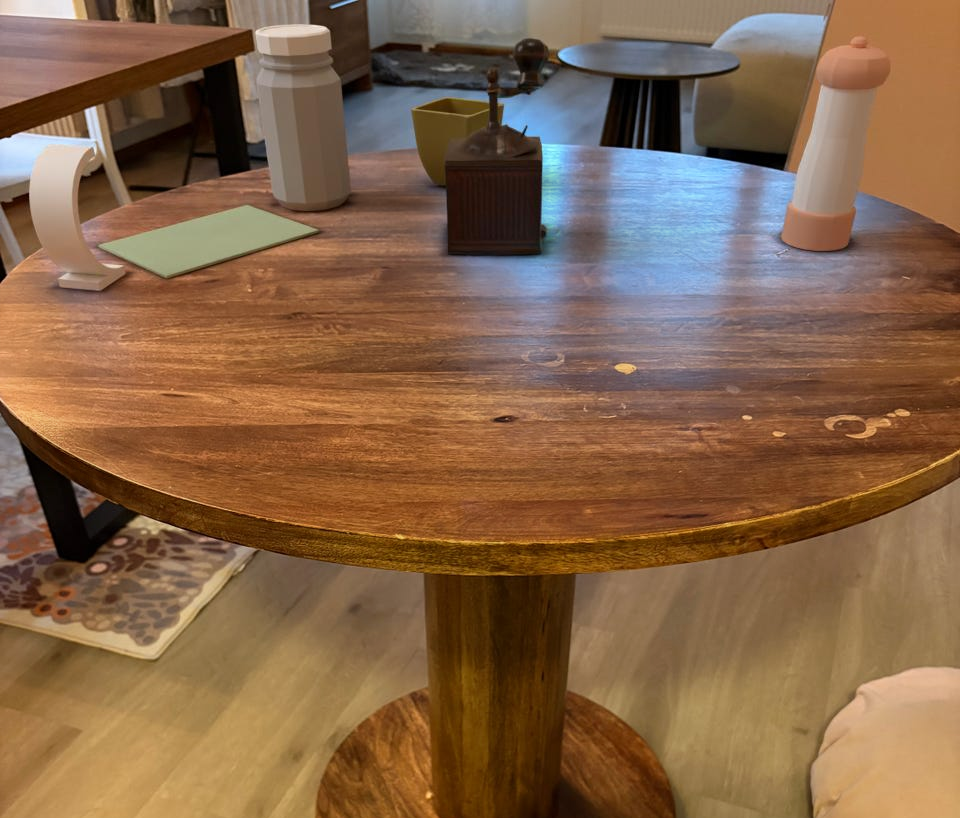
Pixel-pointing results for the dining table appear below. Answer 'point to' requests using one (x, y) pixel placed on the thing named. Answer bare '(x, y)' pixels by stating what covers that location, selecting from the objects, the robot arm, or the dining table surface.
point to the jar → (302, 117)
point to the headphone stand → (66, 217)
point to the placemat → (207, 240)
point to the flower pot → (446, 129)
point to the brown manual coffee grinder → (498, 174)
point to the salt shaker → (835, 148)
